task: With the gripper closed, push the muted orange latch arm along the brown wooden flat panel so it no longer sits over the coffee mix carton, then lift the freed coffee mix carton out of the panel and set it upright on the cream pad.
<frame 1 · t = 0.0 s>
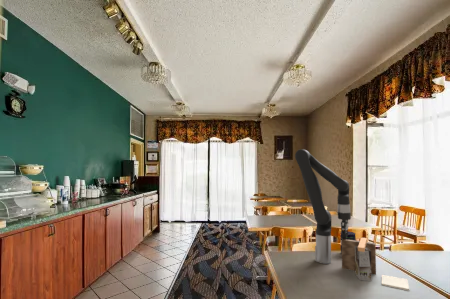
hand: (345, 237, 171), 17 cm above the table, tool pointing down, fingers open, 8 cm apart
latch arm: (362, 244, 153), point 18 cm above the table, slide at 0.0 cm
brown wooden flat panel: (358, 256, 162), on the table
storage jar: (348, 254, 193), on the table
coffee box: (363, 277, 151), on the table
cream pad: (394, 282, 145), on the table
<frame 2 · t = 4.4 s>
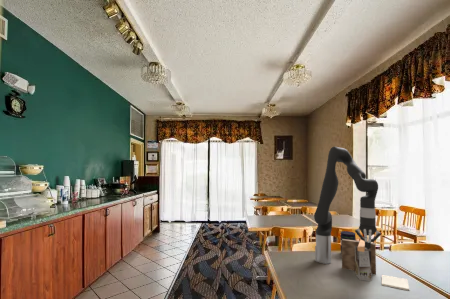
hand: (367, 248, 145), 18 cm above the table, tool pointing down, fingers closed
latch arm: (362, 244, 153), point 18 cm above the table, slide at 0.1 cm, touching gripper
everything else where it was.
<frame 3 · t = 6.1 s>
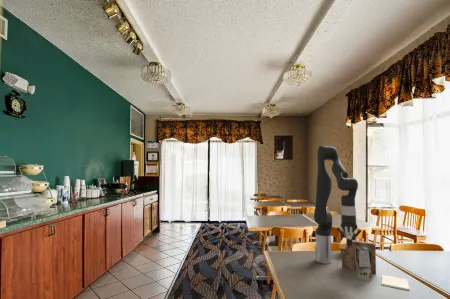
hand: (349, 245, 150), 18 cm above the table, tool pointing down, fingers closed
latch arm: (345, 241, 157), point 18 cm above the table, slide at 9.1 cm, touching gripper
everything else where it was.
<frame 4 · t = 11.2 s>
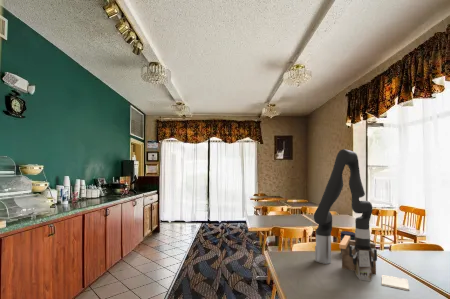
hand: (363, 266, 152), 6 cm above the table, tool pointing down, fingers closed on coffee box, 7 cm apart
latch arm: (345, 241, 157), point 18 cm above the table, slide at 9.0 cm
coffee box: (363, 277, 151), on the table, touching gripper
everything else where it was.
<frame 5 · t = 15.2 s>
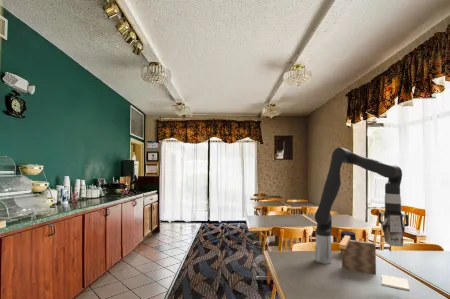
hand: (393, 232, 147), 26 cm above the table, tool pointing down, fingers closed on coffee box, 7 cm apart
coffee box: (393, 244, 146), point 20 cm above the table, touching gripper
everything else where it was.
when the fingers open (8 cm above the table, at t = 19.1 s): coffee box stays where it is, resting on cream pad.
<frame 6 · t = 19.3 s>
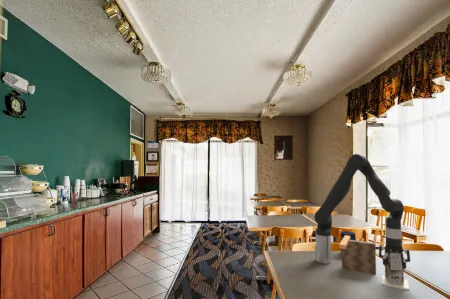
hand: (394, 267, 145), 8 cm above the table, tool pointing down, fingers open, 8 cm apart
coffee box: (394, 281, 145), point 1 cm above the table, touching cream pad
everything else where it was.
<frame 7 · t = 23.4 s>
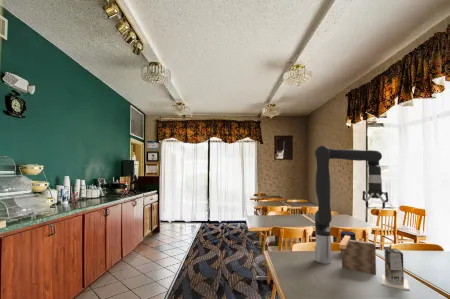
hand: (375, 208, 171), 36 cm above the table, tool pointing down, fingers open, 8 cm apart
nothing on the table moved.
at the end: latch arm slide at 9.0 cm; coffee box inside the target area (0.2 cm from its centre), point 0.6 cm above the table; coffee box tilted 0° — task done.
